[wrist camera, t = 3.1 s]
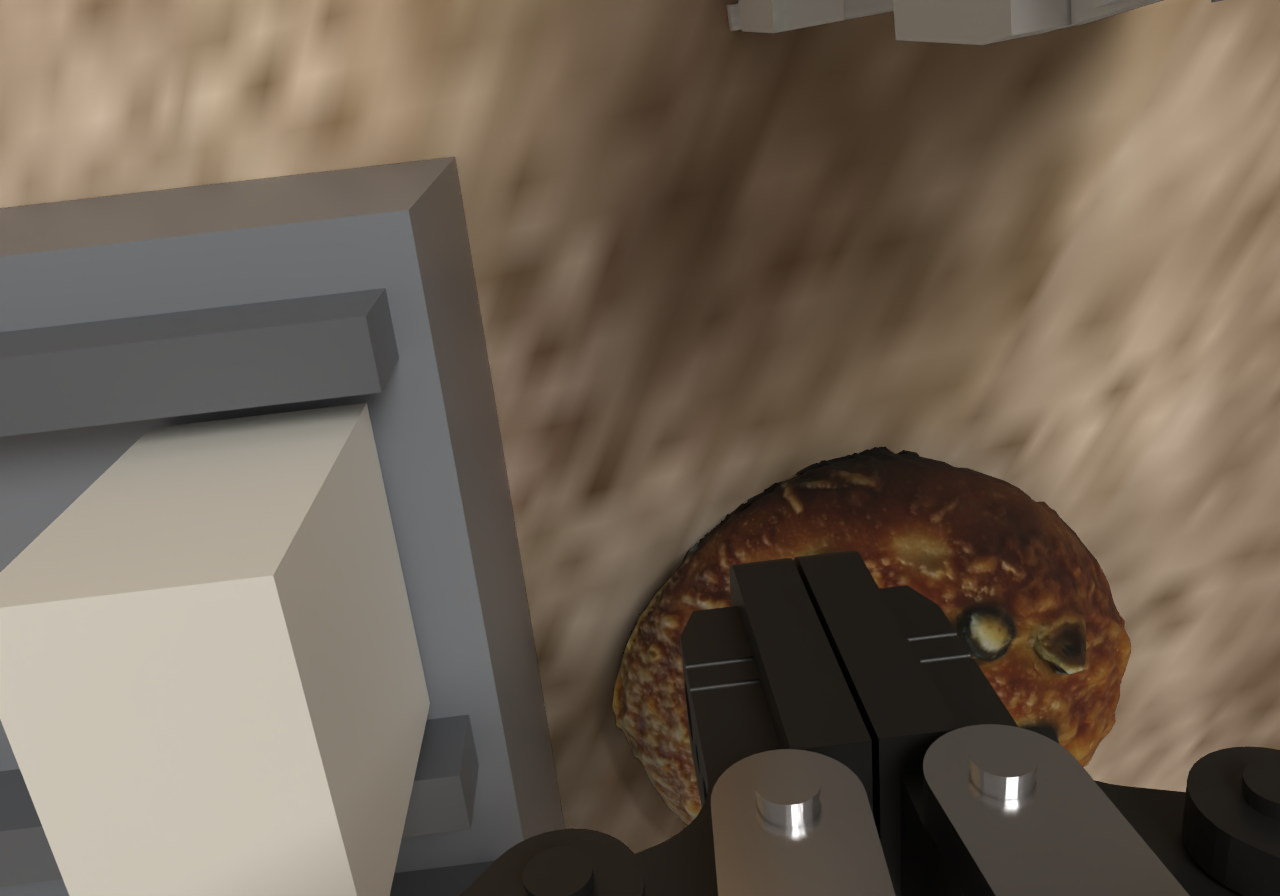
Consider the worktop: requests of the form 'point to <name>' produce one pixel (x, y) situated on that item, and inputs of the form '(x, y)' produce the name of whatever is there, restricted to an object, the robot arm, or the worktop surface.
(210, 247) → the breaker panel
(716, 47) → the worktop surface
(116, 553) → the block
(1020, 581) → the bread roll
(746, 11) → the circuit breaker
